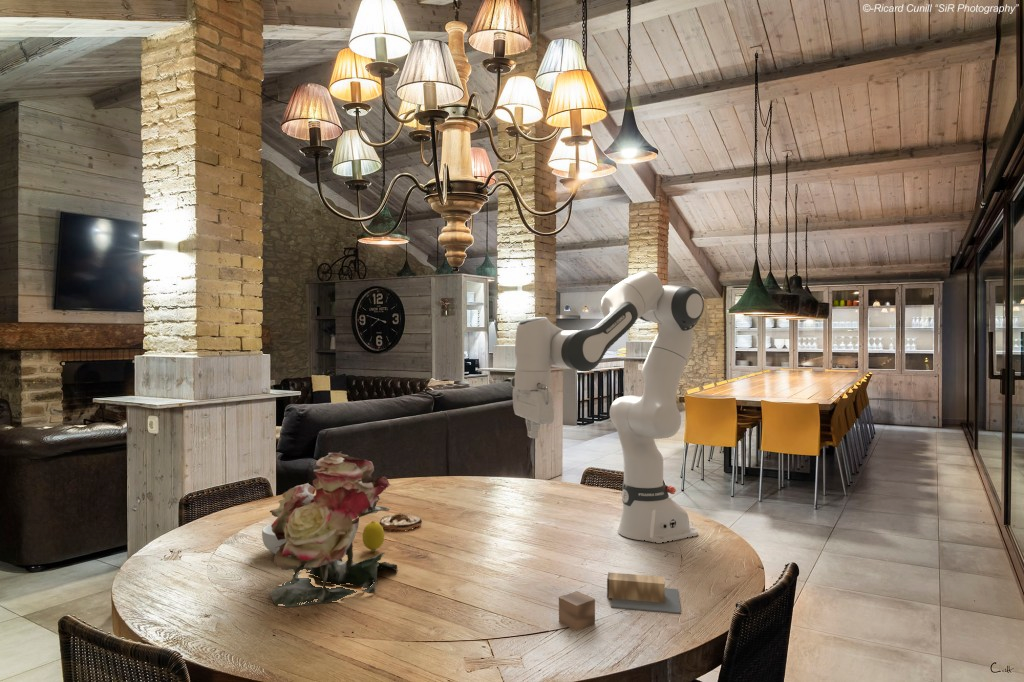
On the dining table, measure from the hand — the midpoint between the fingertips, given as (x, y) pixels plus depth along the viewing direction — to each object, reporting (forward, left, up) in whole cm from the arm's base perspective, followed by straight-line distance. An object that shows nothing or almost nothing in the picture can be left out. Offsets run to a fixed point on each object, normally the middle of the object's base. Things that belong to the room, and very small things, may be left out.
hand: (532, 437), depth 157 cm
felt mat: (-16, +28, -31) cm, 45 cm away
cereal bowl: (+56, -25, -31) cm, 69 cm away
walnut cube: (+3, +34, -31) cm, 46 cm away
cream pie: (+27, -41, -32) cm, 59 cm away
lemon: (+37, -20, -31) cm, 52 cm away
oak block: (-9, +24, -29) cm, 38 cm away
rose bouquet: (+49, 0, -31) cm, 58 cm away
